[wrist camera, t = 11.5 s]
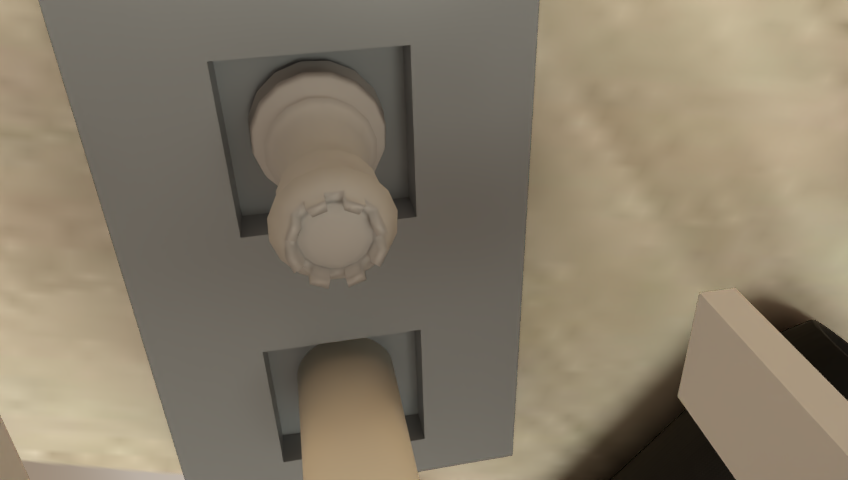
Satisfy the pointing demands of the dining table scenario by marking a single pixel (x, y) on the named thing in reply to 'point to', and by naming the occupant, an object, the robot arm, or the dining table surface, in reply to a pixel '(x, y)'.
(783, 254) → the dining table surface
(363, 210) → the rook chess piece
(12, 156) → the dining table surface
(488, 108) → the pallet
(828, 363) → the portable speaker
